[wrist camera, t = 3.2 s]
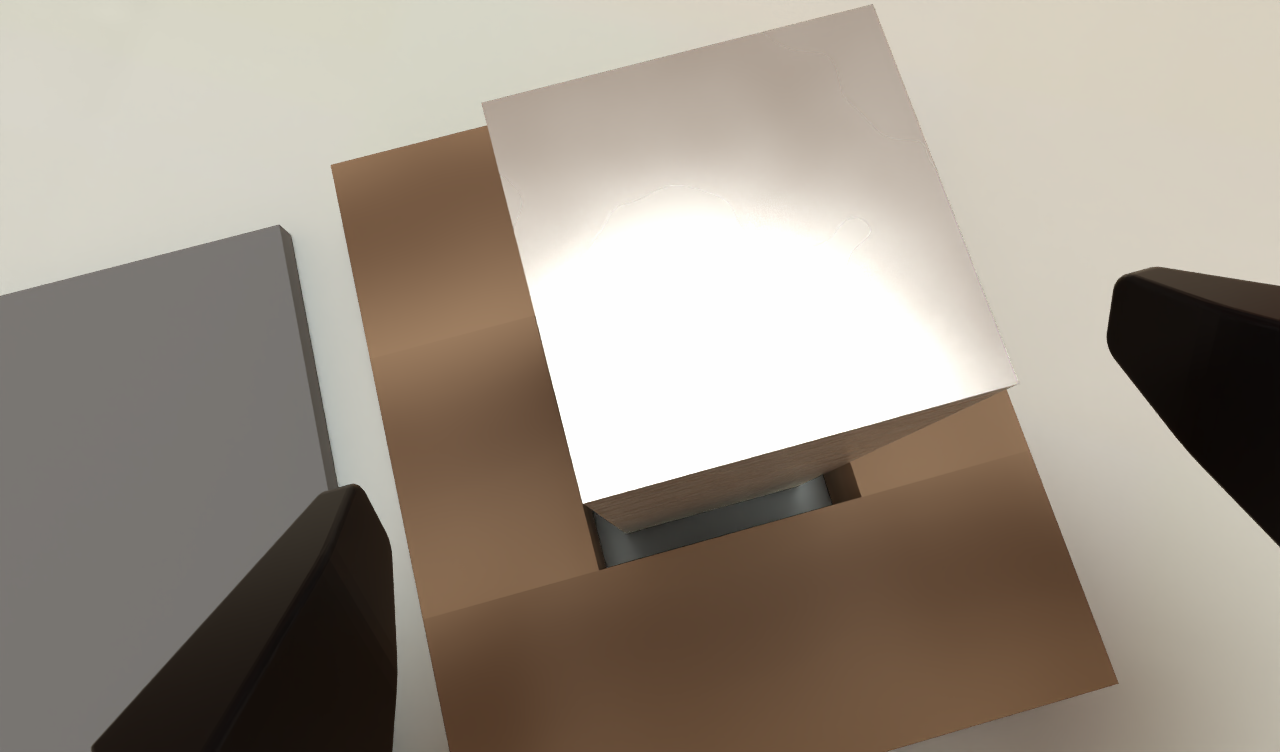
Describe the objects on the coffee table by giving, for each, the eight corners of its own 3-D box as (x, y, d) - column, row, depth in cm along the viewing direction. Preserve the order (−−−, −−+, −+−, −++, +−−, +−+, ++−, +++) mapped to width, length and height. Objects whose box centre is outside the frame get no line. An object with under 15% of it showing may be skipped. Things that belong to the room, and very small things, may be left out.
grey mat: (405, 852, 16) (396, 863, 16) (-84, 995, 16) (-113, 1011, 15) (290, 234, 19) (278, 224, 19) (-124, 340, 19) (-150, 334, 18)
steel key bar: (798, 485, 18) (1018, 383, 7) (626, 533, 18) (582, 503, 7) (746, 320, 19) (873, 3, 8) (581, 364, 18) (481, 102, 8)
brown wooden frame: (1051, 664, 17) (1119, 683, 14) (500, 824, 16) (474, 872, 14) (842, 93, 20) (868, 28, 17) (371, 214, 19) (330, 164, 17)
